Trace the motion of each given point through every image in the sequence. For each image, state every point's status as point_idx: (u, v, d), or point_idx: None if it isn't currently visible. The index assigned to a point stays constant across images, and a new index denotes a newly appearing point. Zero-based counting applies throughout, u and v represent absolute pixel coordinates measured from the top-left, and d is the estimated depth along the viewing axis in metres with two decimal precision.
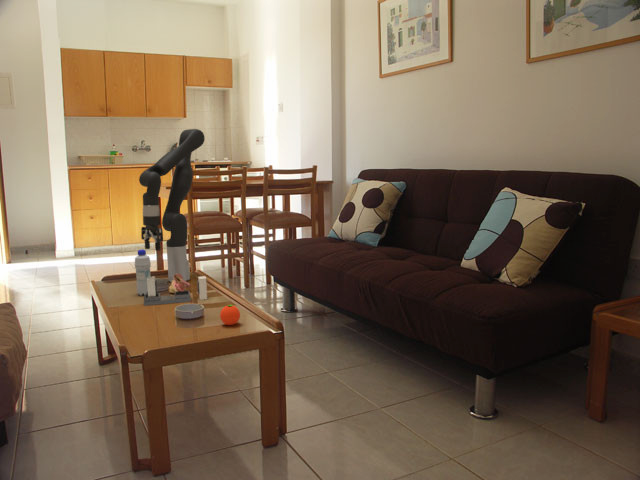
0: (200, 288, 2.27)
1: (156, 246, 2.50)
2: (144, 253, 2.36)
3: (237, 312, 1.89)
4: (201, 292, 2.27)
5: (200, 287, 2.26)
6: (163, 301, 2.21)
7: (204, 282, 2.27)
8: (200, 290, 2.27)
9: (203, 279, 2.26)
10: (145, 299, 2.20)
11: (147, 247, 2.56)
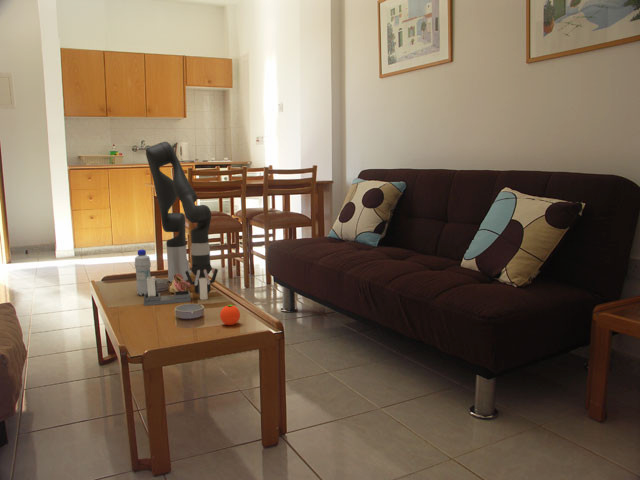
0: (200, 288, 2.27)
1: (209, 288, 2.29)
2: (144, 253, 2.36)
3: (237, 312, 1.89)
4: (201, 292, 2.27)
5: (200, 287, 2.26)
6: (163, 301, 2.21)
7: (204, 282, 2.27)
8: (200, 290, 2.27)
9: (203, 279, 2.26)
10: (145, 299, 2.20)
11: None
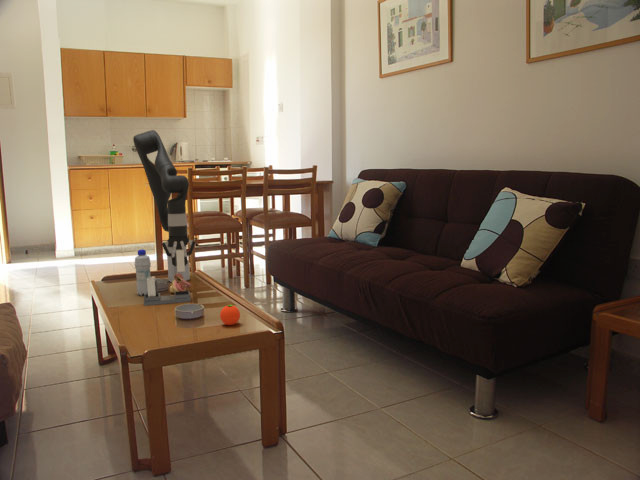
0: (177, 260, 2.23)
1: (185, 261, 2.25)
2: (144, 253, 2.36)
3: (237, 312, 1.89)
4: (178, 264, 2.23)
5: (177, 259, 2.22)
6: (163, 301, 2.21)
7: (182, 254, 2.23)
8: (177, 262, 2.23)
9: (180, 251, 2.22)
10: (145, 299, 2.20)
11: None
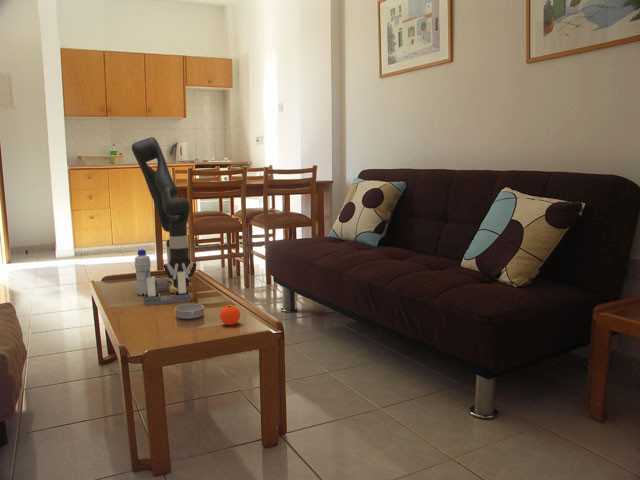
0: (179, 282, 2.24)
1: (187, 282, 2.26)
2: (144, 253, 2.36)
3: (237, 312, 1.89)
4: (180, 286, 2.24)
5: (179, 281, 2.24)
6: (163, 301, 2.21)
7: (183, 276, 2.24)
8: (179, 284, 2.24)
9: (182, 272, 2.24)
10: (145, 299, 2.20)
11: (176, 285, 2.26)
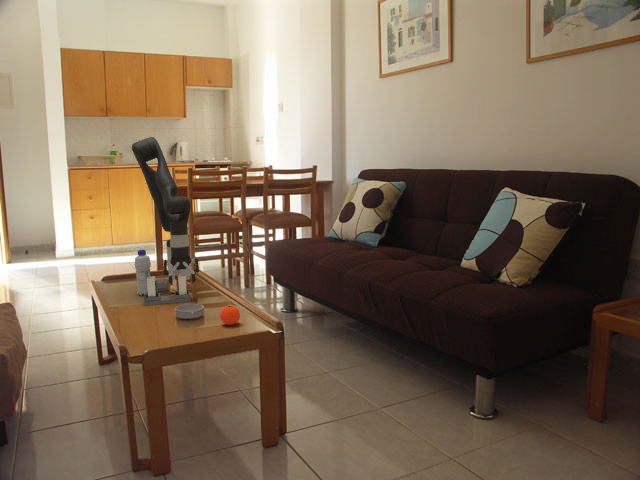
0: (179, 286, 2.24)
1: (193, 278, 2.27)
2: (144, 253, 2.36)
3: (237, 312, 1.89)
4: (180, 290, 2.24)
5: (179, 285, 2.24)
6: (163, 301, 2.21)
7: (183, 280, 2.24)
8: (179, 288, 2.24)
9: (182, 277, 2.24)
10: (145, 299, 2.20)
11: (172, 282, 2.25)
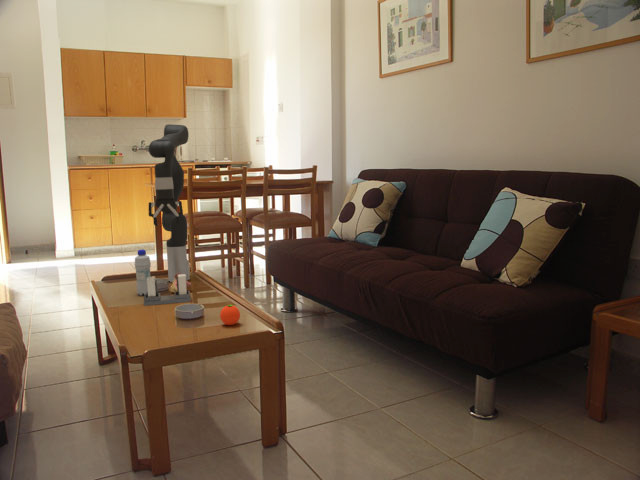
0: (179, 286, 2.24)
1: (177, 220, 2.36)
2: (144, 253, 2.36)
3: (237, 312, 1.89)
4: (180, 290, 2.24)
5: (179, 285, 2.24)
6: (163, 301, 2.21)
7: (183, 280, 2.24)
8: (179, 288, 2.24)
9: (182, 277, 2.24)
10: (145, 299, 2.20)
11: None
